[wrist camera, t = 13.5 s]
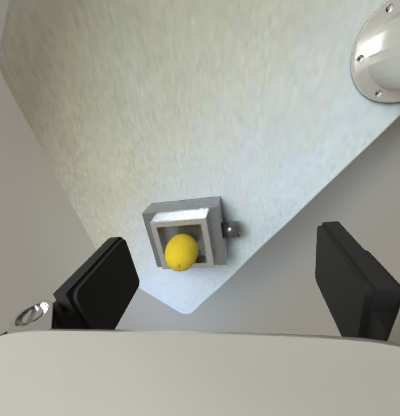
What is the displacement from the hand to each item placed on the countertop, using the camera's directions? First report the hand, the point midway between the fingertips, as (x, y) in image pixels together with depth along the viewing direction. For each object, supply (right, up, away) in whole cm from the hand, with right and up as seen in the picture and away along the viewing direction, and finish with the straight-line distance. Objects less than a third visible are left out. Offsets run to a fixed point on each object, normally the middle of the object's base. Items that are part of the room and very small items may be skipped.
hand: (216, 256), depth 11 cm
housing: (-1, -1, +34) cm, 34 cm away
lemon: (-3, -3, +30) cm, 31 cm away
